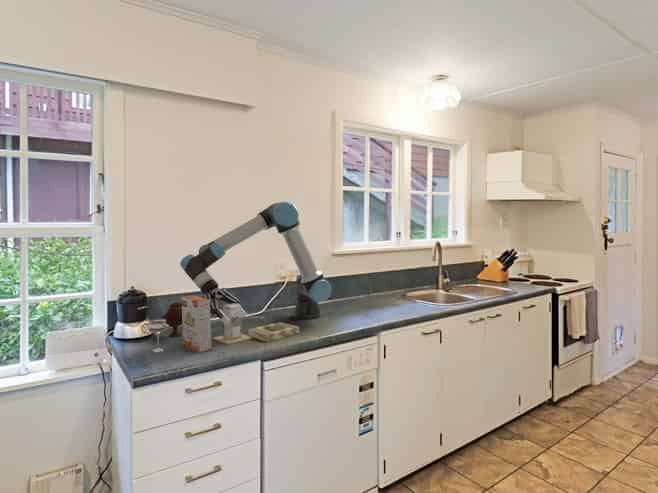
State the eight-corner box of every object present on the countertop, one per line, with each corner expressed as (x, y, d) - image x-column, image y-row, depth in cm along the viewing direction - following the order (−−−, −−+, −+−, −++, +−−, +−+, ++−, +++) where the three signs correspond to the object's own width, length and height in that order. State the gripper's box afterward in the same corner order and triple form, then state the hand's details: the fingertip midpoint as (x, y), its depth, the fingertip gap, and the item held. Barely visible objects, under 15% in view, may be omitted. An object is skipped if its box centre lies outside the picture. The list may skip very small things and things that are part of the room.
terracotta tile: (236, 334, 191) (236, 332, 191) (251, 338, 183) (251, 337, 183) (213, 339, 182) (213, 337, 182) (228, 344, 174) (228, 343, 174)
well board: (279, 328, 201) (279, 322, 201) (299, 333, 191) (299, 326, 191) (248, 335, 188) (248, 329, 188) (268, 341, 178) (267, 334, 178)
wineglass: (169, 347, 171) (168, 318, 171) (163, 352, 165) (162, 322, 164) (153, 347, 171) (152, 319, 170) (146, 353, 164) (145, 323, 164)
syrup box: (233, 334, 187) (232, 302, 186) (242, 336, 183) (241, 304, 182) (223, 337, 182) (222, 305, 182) (231, 339, 179) (230, 306, 178)
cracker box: (182, 346, 173) (180, 296, 172) (195, 343, 177) (194, 294, 176) (198, 353, 163) (196, 300, 162) (212, 350, 167) (210, 298, 166)
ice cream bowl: (162, 333, 193) (161, 301, 192) (187, 331, 197) (186, 300, 196) (162, 339, 183) (160, 306, 182) (188, 337, 187) (187, 304, 186)
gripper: (218, 285, 198) (246, 318, 194) (183, 294, 175) (214, 332, 171) (227, 274, 196) (256, 308, 192) (193, 282, 173) (225, 320, 169)
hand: (236, 319), depth 181 cm, fingers open, 13 cm apart
